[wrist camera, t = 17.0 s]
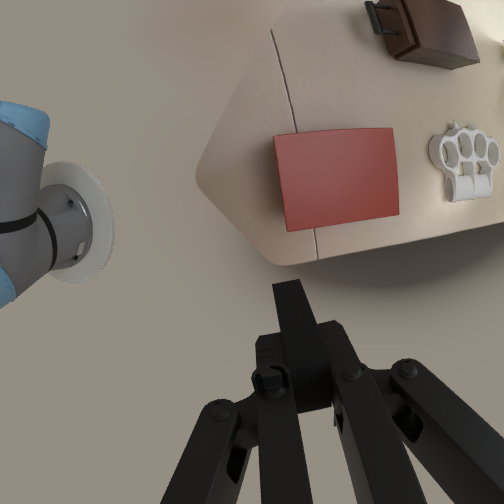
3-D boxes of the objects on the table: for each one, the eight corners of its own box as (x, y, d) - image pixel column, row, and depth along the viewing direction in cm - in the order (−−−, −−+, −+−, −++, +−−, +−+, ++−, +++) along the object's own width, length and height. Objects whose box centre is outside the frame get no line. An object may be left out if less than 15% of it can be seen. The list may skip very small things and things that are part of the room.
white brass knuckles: (432, 202, 41) (423, 119, 36) (491, 193, 40) (486, 123, 35) (442, 206, 38) (434, 118, 33) (502, 196, 37) (497, 123, 32)
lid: (286, 230, 35) (287, 232, 34) (272, 136, 31) (273, 135, 30) (396, 213, 34) (399, 214, 34) (389, 128, 30) (392, 127, 30)
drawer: (367, 53, 32) (385, 39, 26) (352, 2, 29) (366, -16, 22) (445, 64, 31) (467, 57, 25) (430, 17, 28) (449, 6, 22)
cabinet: (394, 60, 33) (421, 46, 25) (377, 5, 29) (398, -15, 21) (452, 69, 32) (480, 62, 24) (436, 18, 28) (460, 5, 20)
